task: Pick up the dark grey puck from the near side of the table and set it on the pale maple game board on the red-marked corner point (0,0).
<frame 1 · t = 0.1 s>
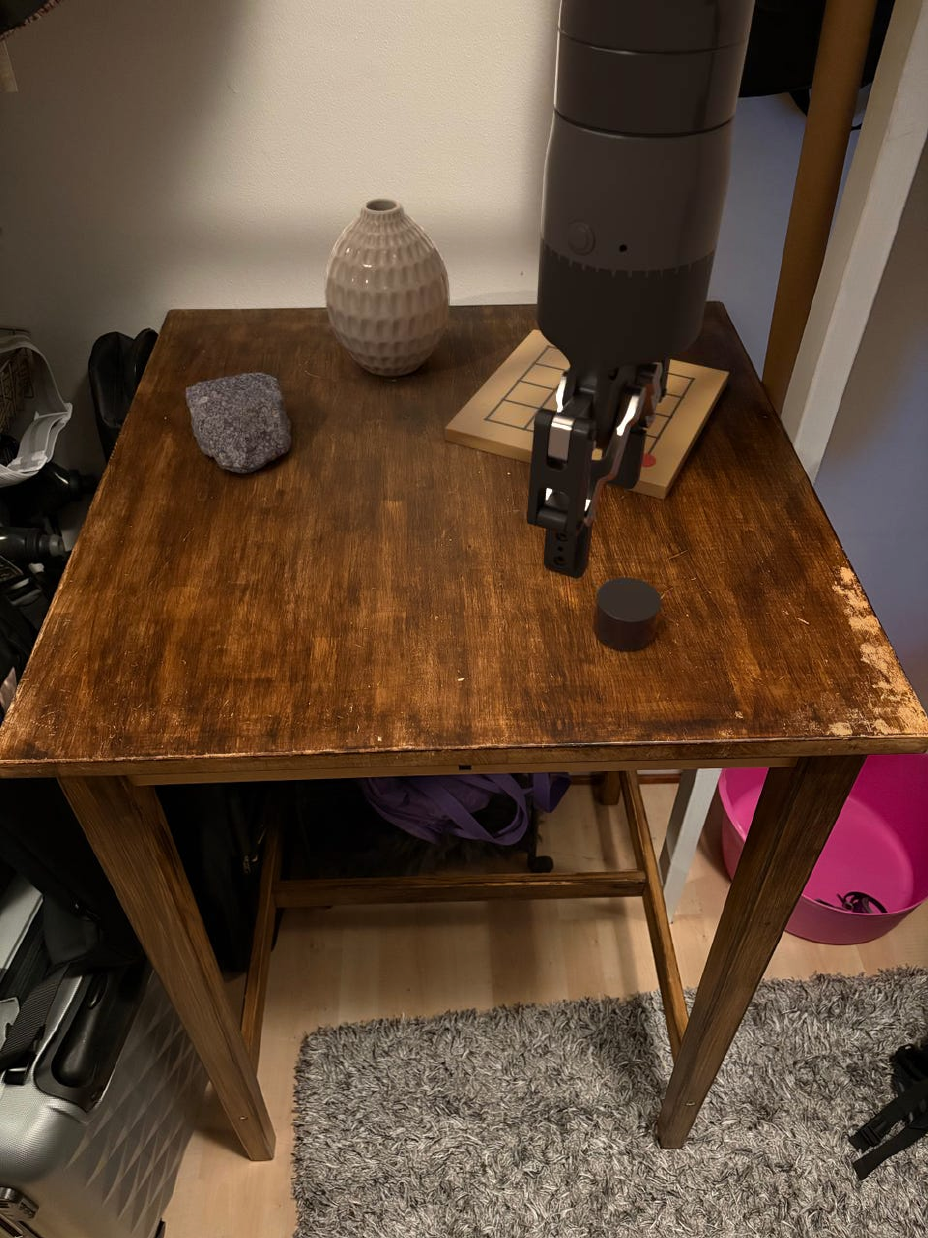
hand: (593, 524, 50), 18 cm above the table, tool pointing down, fingers open, 8 cm apart
rock: (252, 442, 88), on the table
vase: (392, 364, 99), on the table
board: (591, 411, 91), on the table
dark grey puck: (623, 628, 69), on the table
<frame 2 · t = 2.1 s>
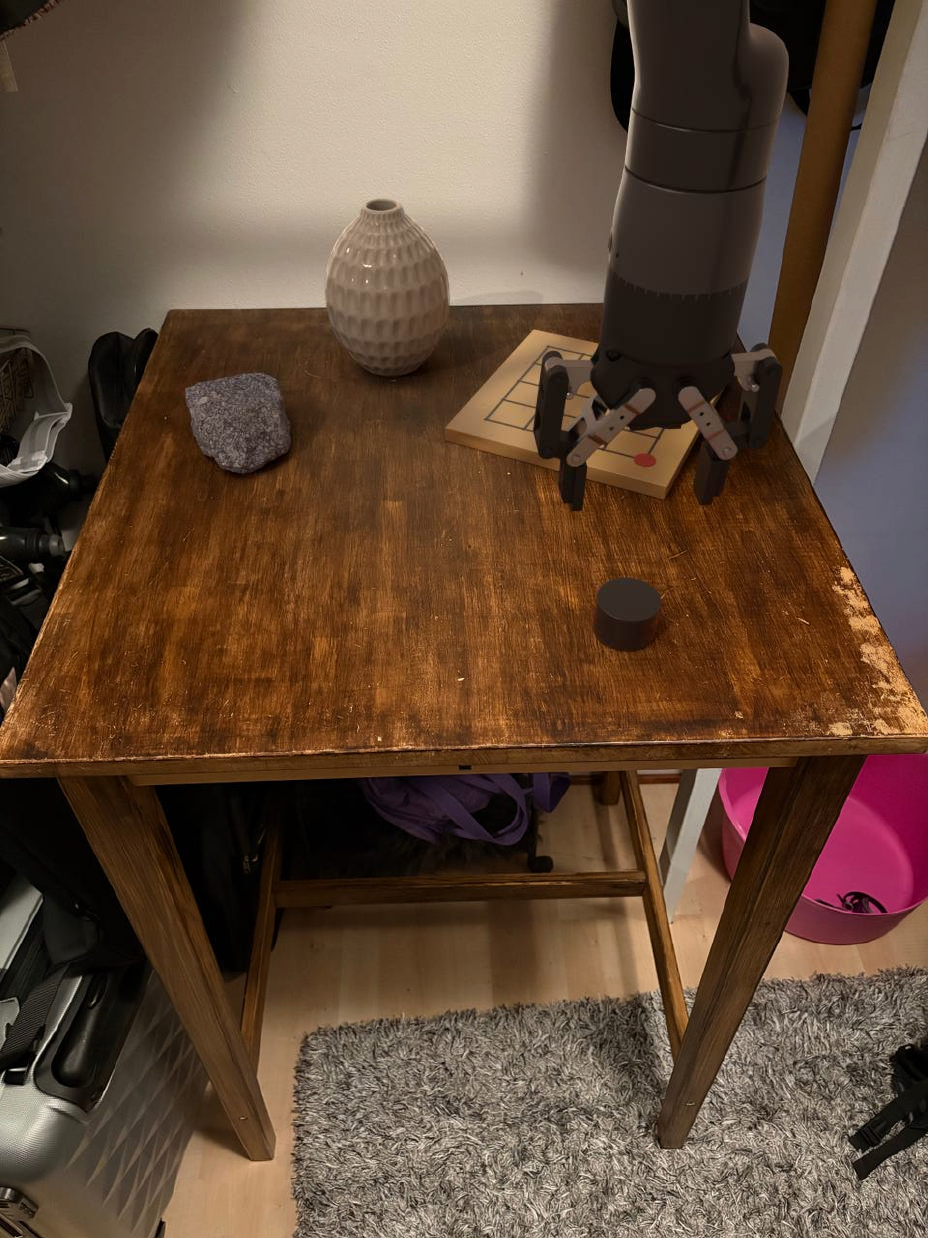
hand: (638, 500, 60), 13 cm above the table, tool pointing down, fingers open, 8 cm apart
nothing on the table moved.
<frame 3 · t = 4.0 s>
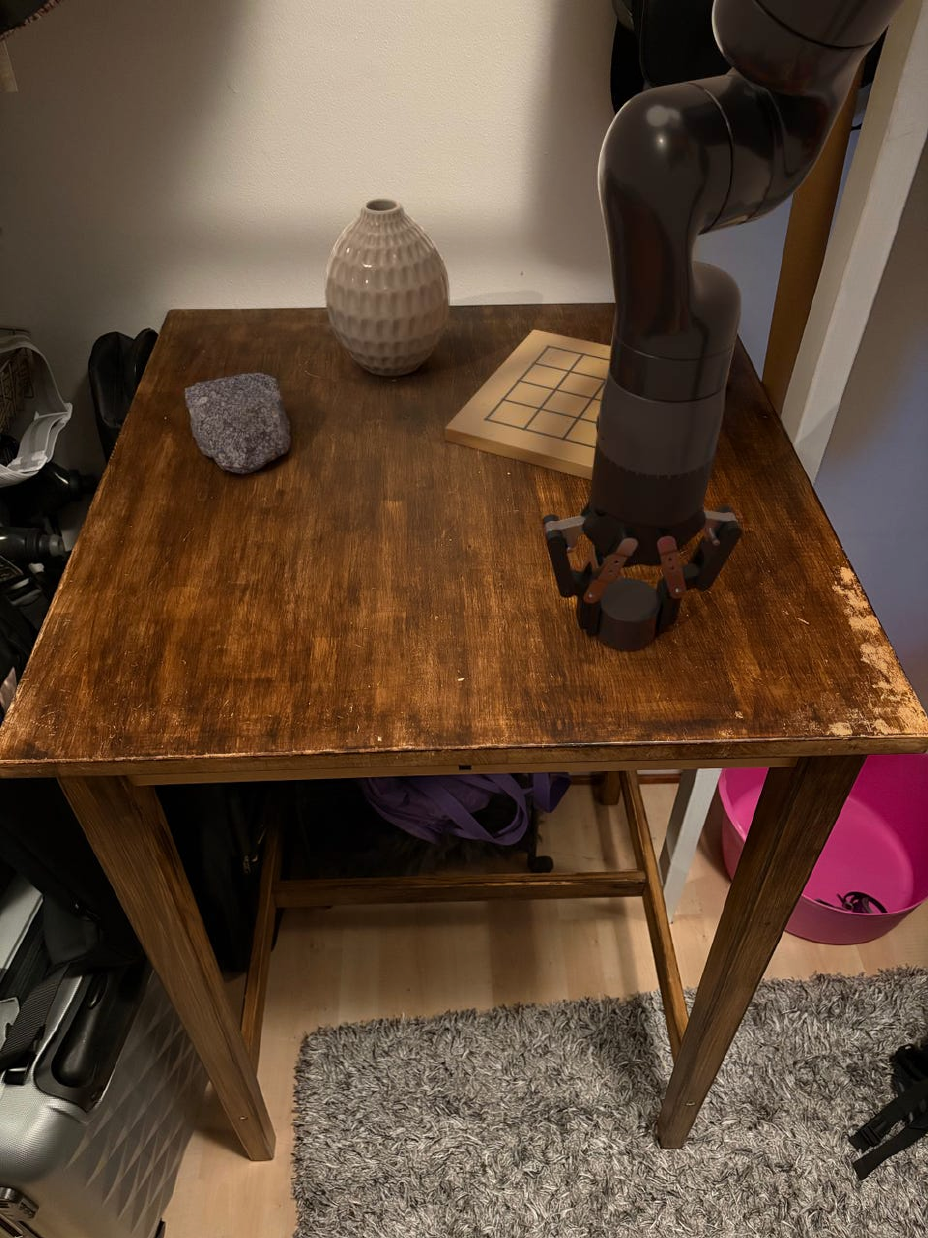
hand: (624, 625, 69), 0 cm above the table, tool pointing down, fingers closed on dark grey puck, 4 cm apart
dark grey puck: (623, 628, 69), on the table, touching gripper
everything else where it was.
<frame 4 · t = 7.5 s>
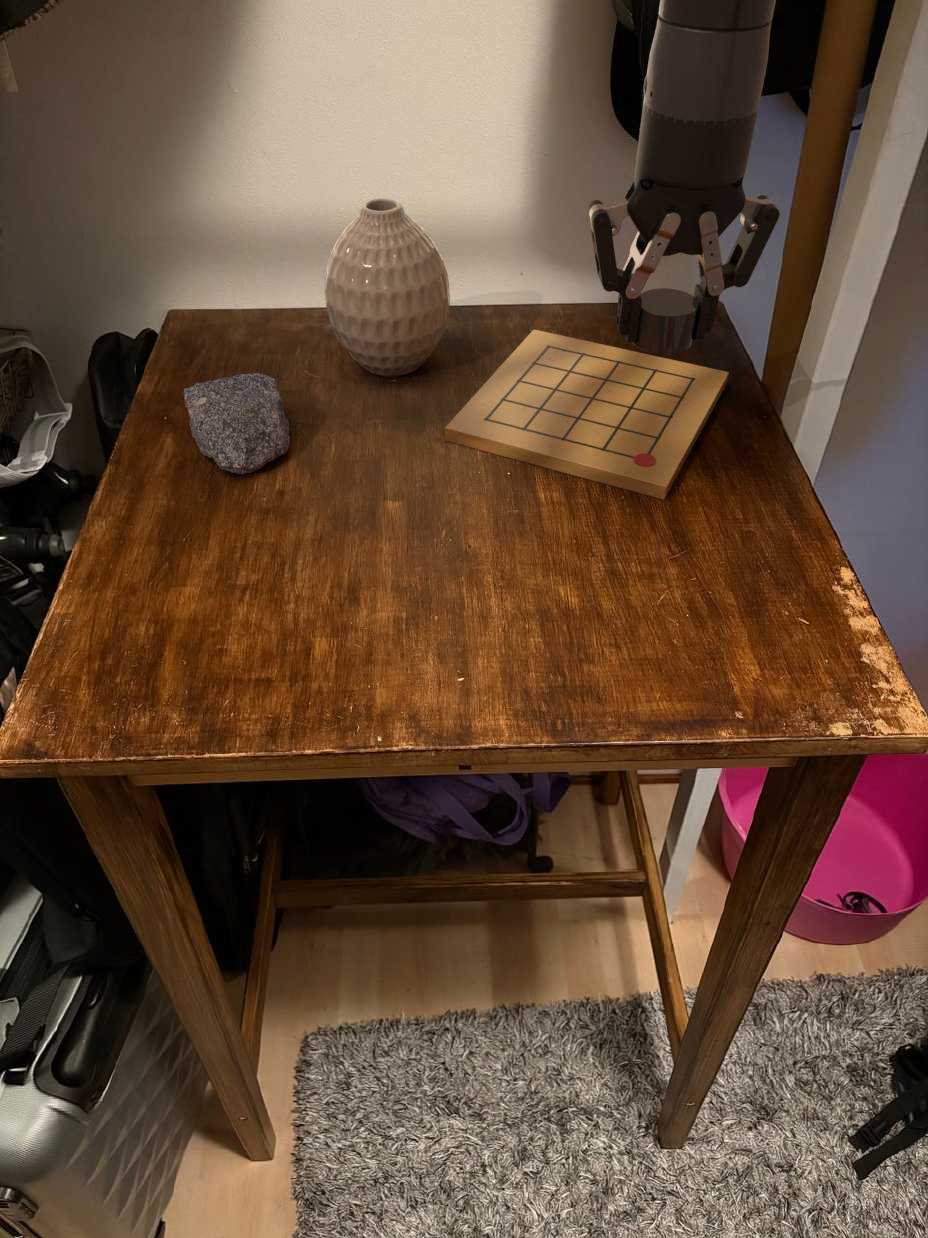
hand: (662, 335, 72), 15 cm above the table, tool pointing down, fingers closed on dark grey puck, 4 cm apart
dark grey puck: (661, 339, 72), point 14 cm above the table, touching gripper
everything else where it was.
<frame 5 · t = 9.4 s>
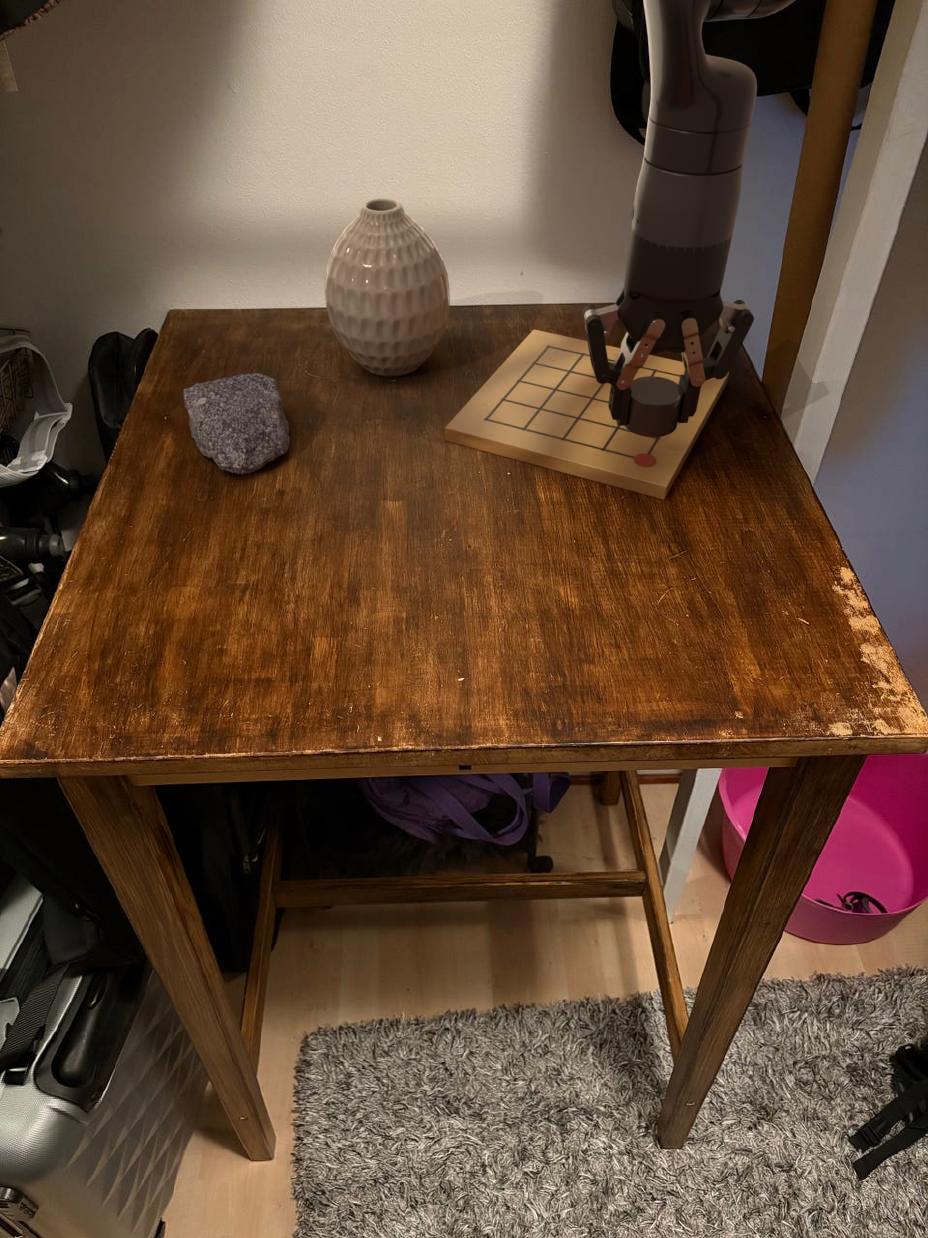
hand: (650, 418, 80), 6 cm above the table, tool pointing down, fingers closed on dark grey puck, 4 cm apart
dark grey puck: (649, 422, 80), point 6 cm above the table, touching gripper
everything else where it was.
when the fingers open (2 cm above the table, at t = 10.9 s): dark grey puck stays where it is, resting on board.
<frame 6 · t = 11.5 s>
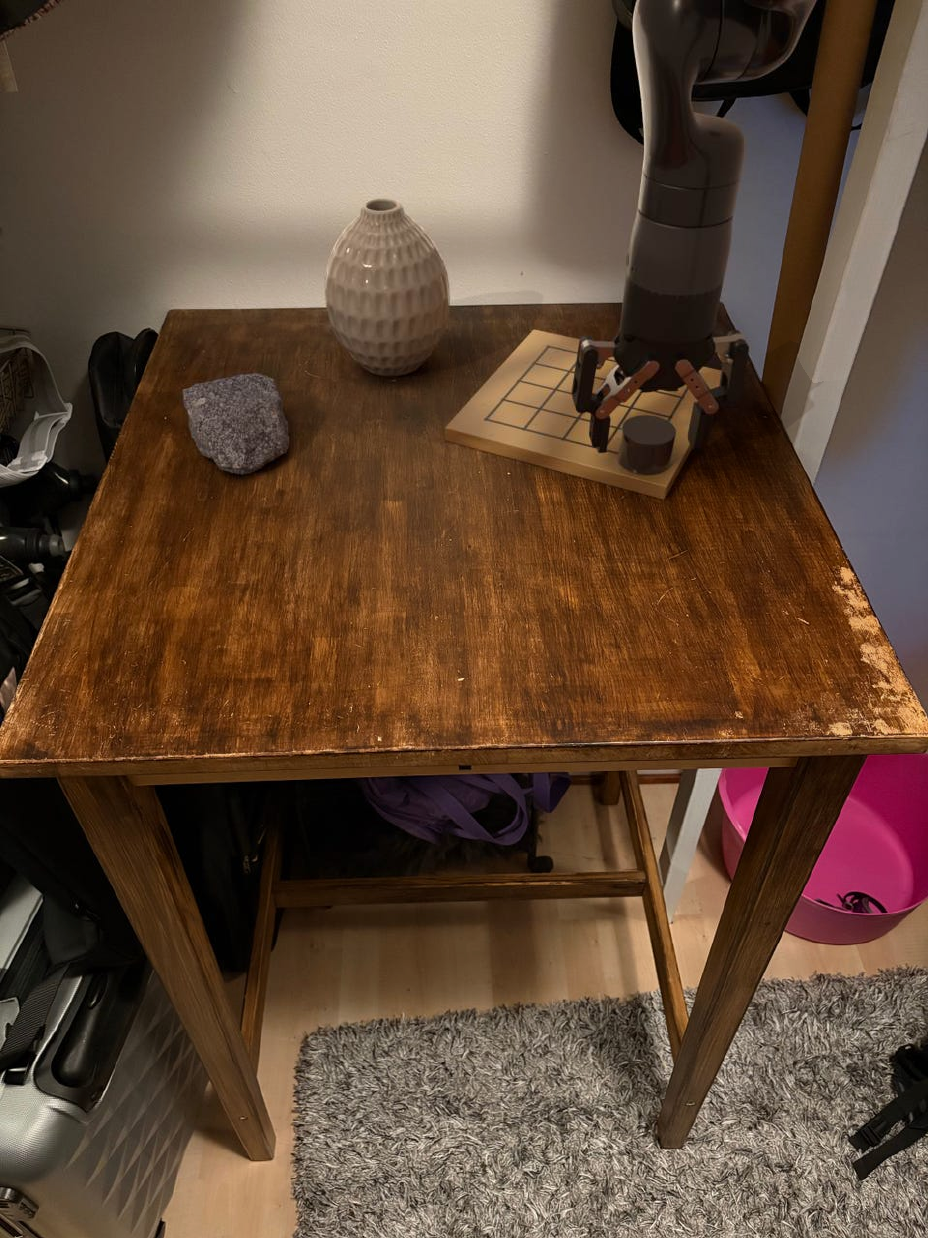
hand: (647, 446, 82), 3 cm above the table, tool pointing down, fingers open, 8 cm apart
dark grey puck: (644, 459, 83), point 2 cm above the table, touching board
everything else where it was.
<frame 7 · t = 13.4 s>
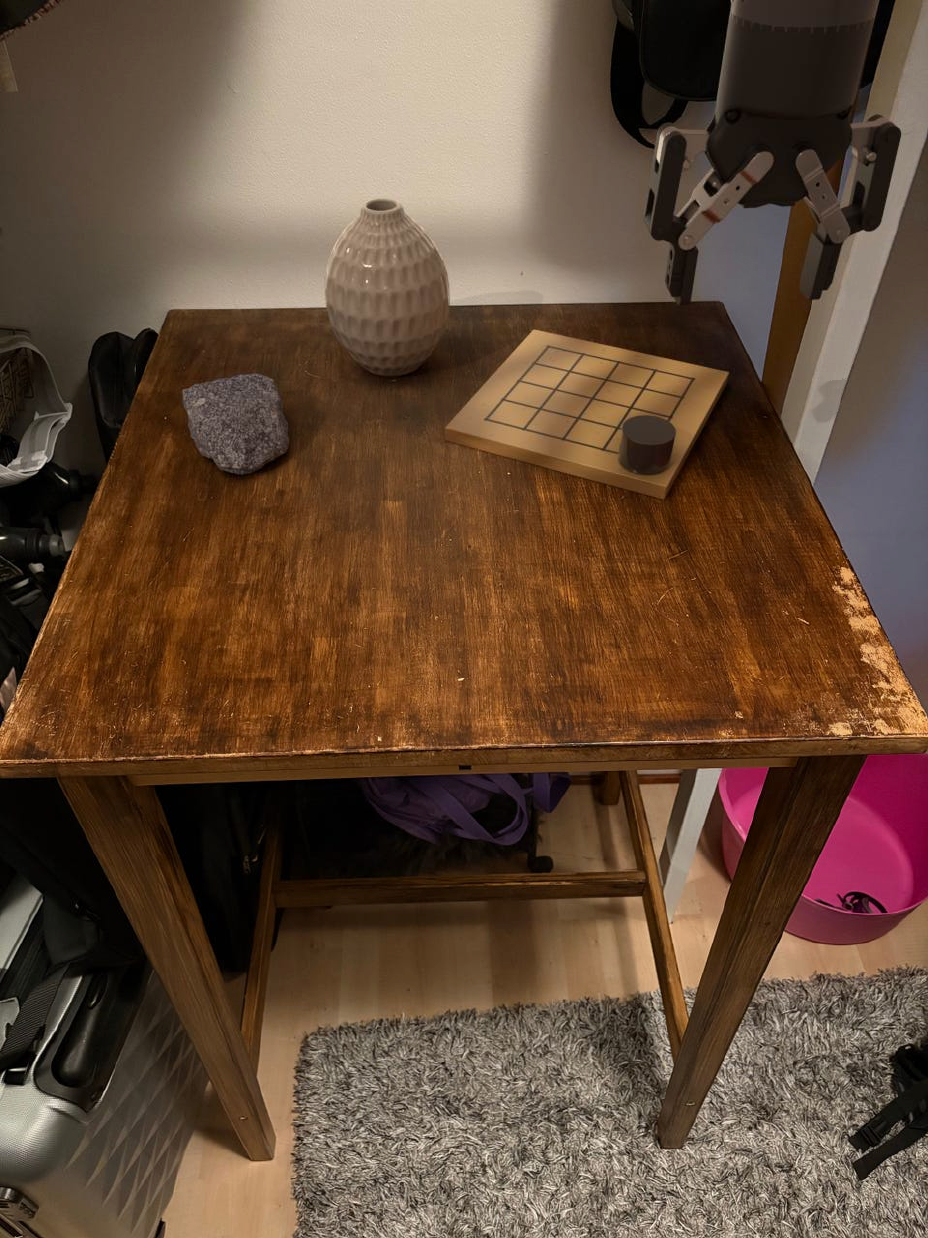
hand: (745, 297, 60), 22 cm above the table, tool pointing down, fingers open, 8 cm apart
nothing on the table moved.
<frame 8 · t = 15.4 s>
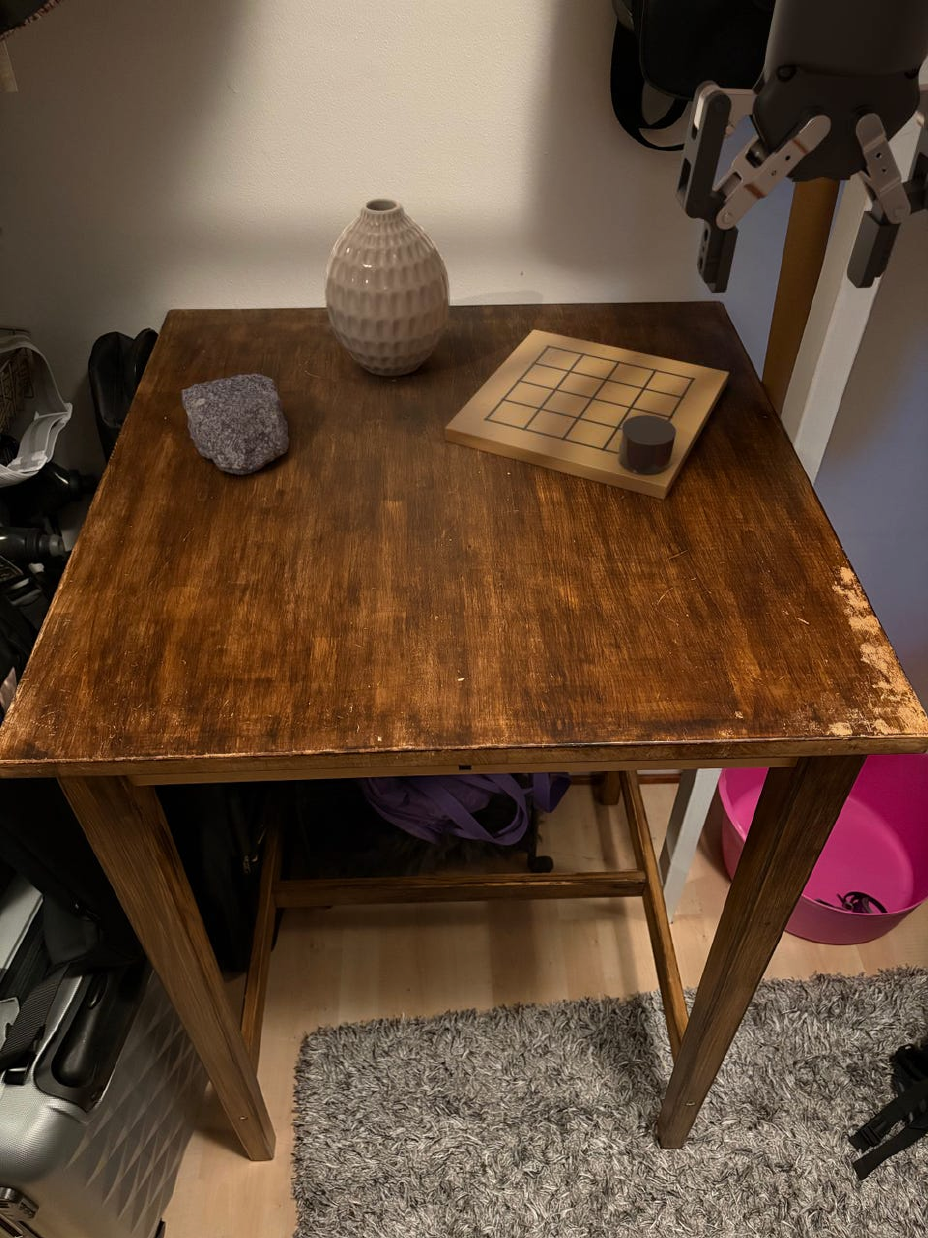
hand: (786, 285, 53), 26 cm above the table, tool pointing down, fingers open, 8 cm apart
nothing on the table moved.
at the end: dark grey puck 0.1 cm from the target spot on the board, point 1.6 cm above the board's base; dark grey puck tilted 0°; the gripper is holding nothing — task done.
